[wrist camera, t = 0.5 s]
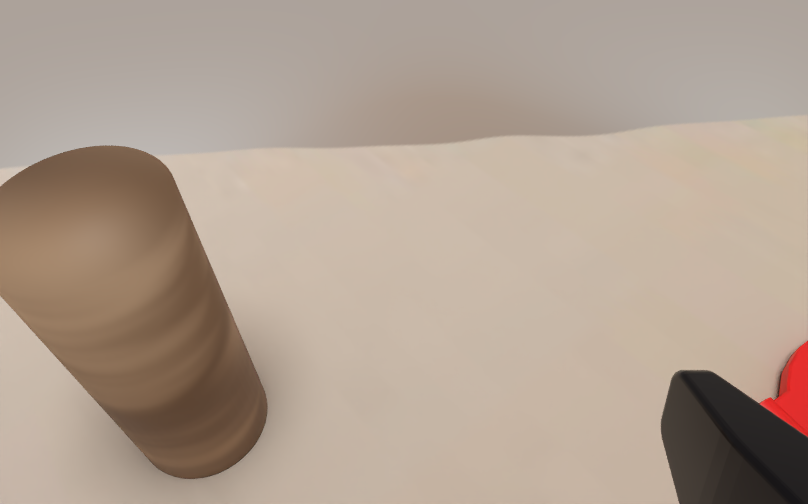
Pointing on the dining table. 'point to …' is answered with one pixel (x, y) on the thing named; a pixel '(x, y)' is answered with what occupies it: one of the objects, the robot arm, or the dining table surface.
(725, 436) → the robot arm
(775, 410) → the tow hook
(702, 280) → the dining table surface
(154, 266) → the walnut peg
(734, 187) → the dining table surface
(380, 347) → the dining table surface
